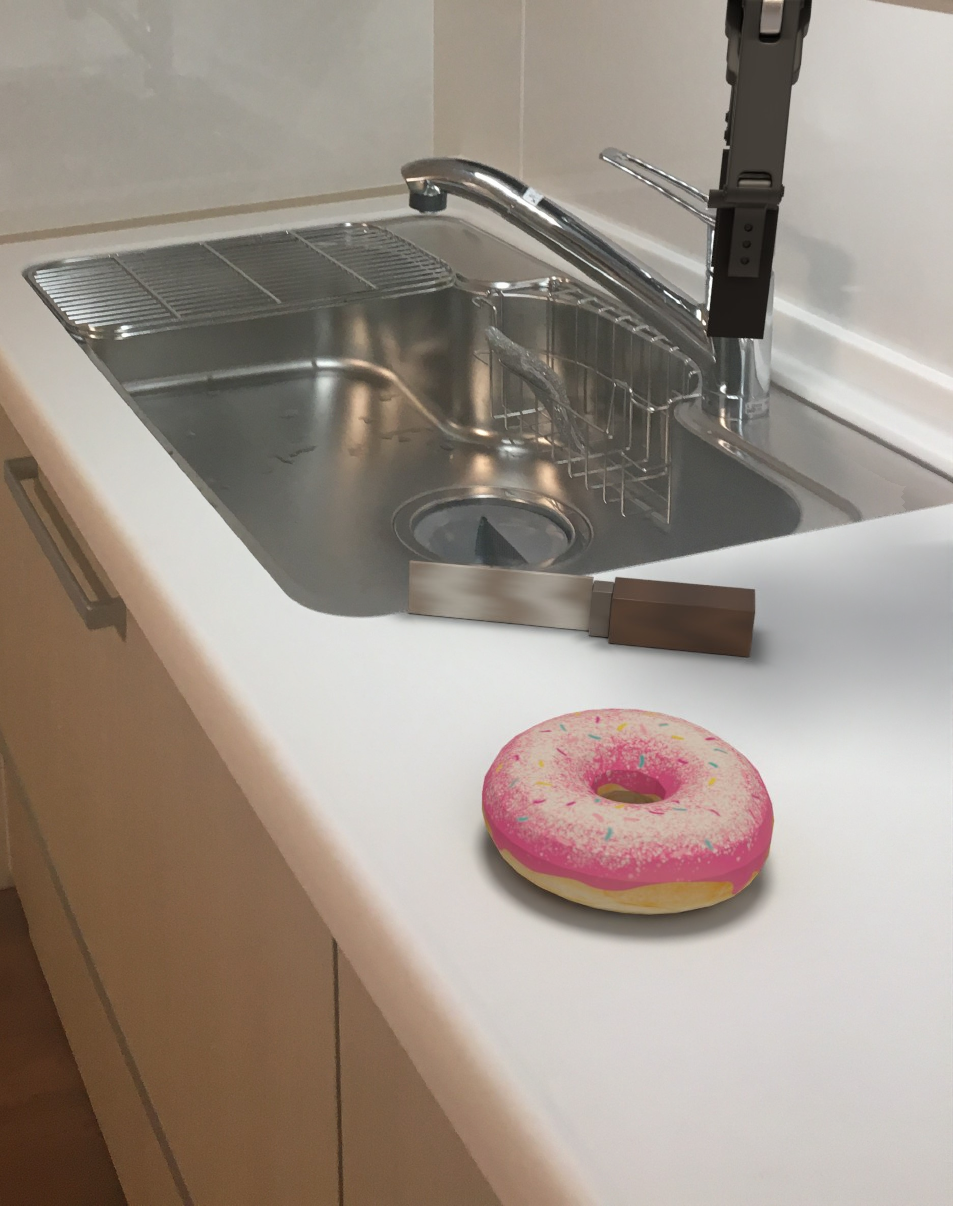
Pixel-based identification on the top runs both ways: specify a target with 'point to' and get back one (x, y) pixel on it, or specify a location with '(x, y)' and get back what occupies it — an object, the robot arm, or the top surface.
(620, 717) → the donut
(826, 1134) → the top surface
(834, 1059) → the top surface
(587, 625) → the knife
